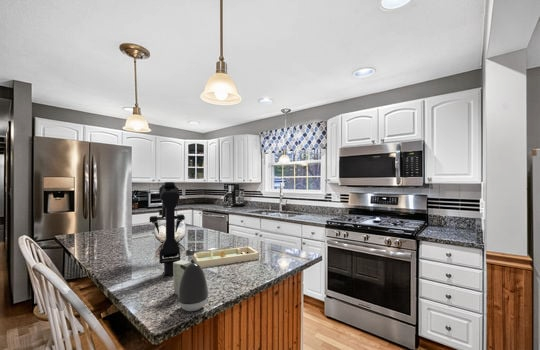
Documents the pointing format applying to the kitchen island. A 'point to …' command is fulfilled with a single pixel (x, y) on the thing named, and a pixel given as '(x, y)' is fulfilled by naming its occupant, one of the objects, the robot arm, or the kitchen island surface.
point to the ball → (222, 254)
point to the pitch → (231, 256)
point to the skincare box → (178, 273)
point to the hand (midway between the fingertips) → (167, 233)
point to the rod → (191, 252)
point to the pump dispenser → (192, 288)
